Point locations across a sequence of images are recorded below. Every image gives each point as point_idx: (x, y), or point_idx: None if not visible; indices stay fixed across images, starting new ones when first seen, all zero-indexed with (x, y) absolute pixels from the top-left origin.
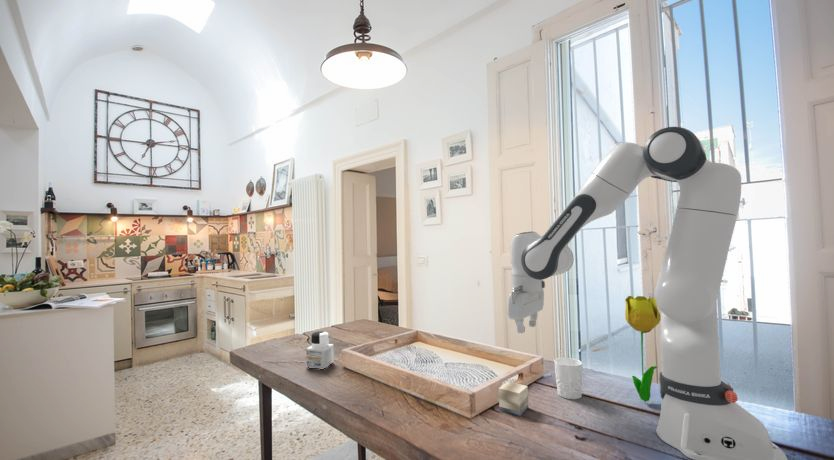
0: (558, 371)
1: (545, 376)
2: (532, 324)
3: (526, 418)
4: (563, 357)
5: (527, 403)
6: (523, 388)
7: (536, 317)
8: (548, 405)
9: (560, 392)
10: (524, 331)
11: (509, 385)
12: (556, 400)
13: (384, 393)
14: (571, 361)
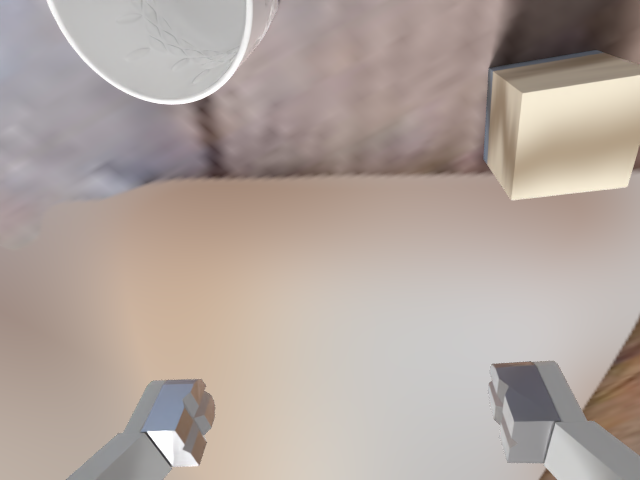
0: (258, 29)
1: (132, 179)
2: (195, 409)
3: (614, 9)
4: (100, 74)
5: (505, 70)
6: (573, 91)
7: (95, 472)
8: (413, 3)
9: (275, 10)
10: (510, 368)
11: (561, 168)
12: (331, 3)
13: (617, 424)
14: (75, 13)
